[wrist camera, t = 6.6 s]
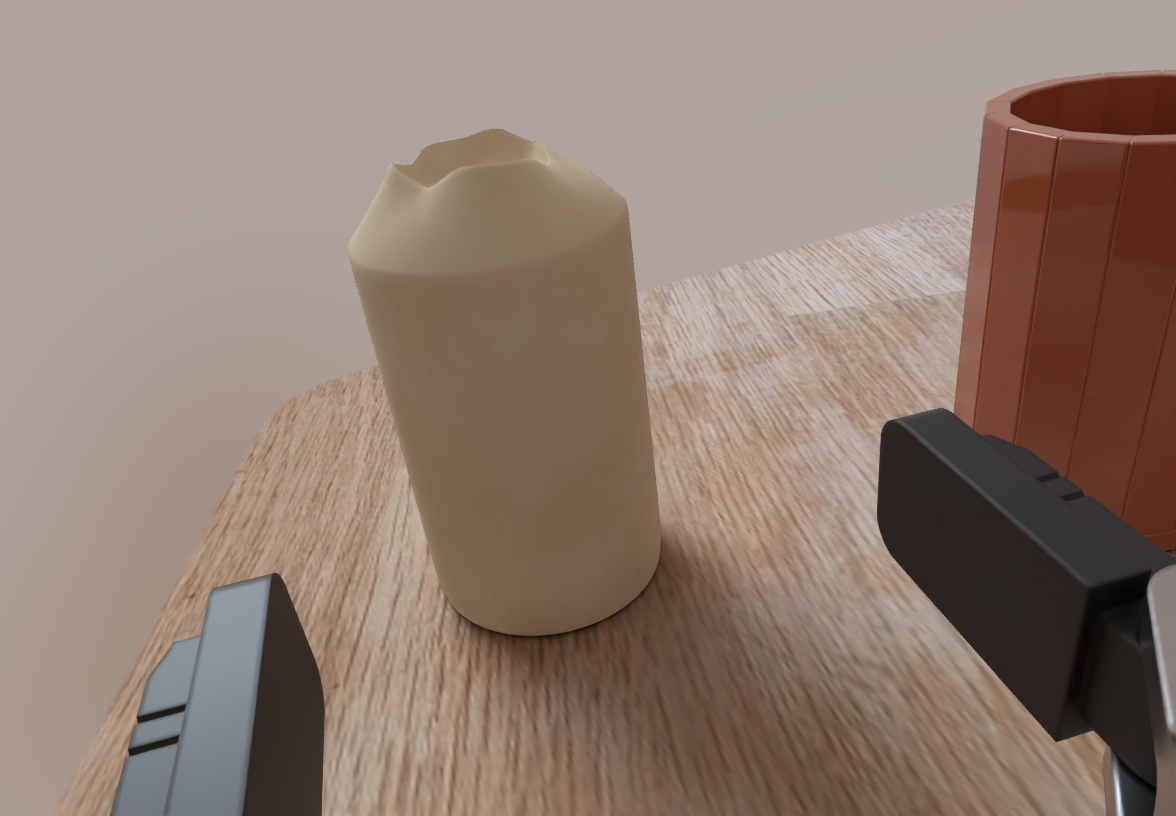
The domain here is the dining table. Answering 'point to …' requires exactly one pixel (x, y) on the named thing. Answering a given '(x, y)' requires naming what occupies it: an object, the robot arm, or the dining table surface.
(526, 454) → the candle
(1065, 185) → the terracotta cup
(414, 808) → the dining table surface
